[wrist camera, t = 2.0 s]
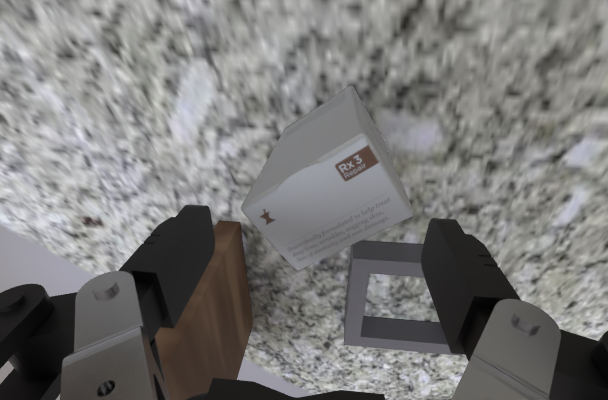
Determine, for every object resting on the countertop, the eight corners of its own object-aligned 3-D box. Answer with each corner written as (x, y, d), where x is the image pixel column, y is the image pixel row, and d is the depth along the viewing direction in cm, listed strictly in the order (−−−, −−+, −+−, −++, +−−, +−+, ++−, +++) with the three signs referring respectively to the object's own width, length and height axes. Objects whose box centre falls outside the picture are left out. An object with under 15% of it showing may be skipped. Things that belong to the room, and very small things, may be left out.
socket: (485, 248, 27) (498, 268, 24) (453, 333, 32) (461, 355, 30) (351, 240, 28) (352, 258, 25) (343, 324, 33) (344, 344, 31)
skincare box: (314, 171, 25) (295, 282, 14) (281, 126, 23) (232, 212, 13) (384, 130, 22) (421, 225, 12) (352, 76, 21) (363, 132, 10)
